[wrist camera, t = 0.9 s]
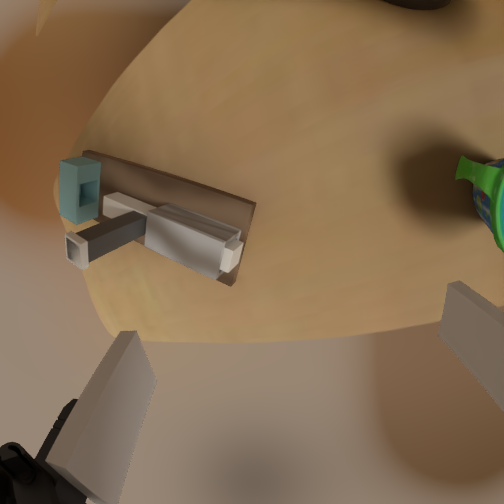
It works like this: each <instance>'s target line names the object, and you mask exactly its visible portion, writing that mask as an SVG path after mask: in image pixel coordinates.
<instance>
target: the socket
mask: <svg viewBox="0 0 504 504" xmlns="http://www.w3.org/2000/svg"><path fill="white" fill-rule="evenodd" d="M100 171H101V162H99V161H96V160H92V159H89V158H86V157H77V158H71V159H66V160H62V161H60V174H59V212H60V215H61V216H63V217H64V218H66V219H68V220H69V221H71V222H73V223H74V224H76V225H78V224H80V223H83V222H85V221H88V220H91V219H93V218H96V217H98V205H99V185H100Z"/></svg>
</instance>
